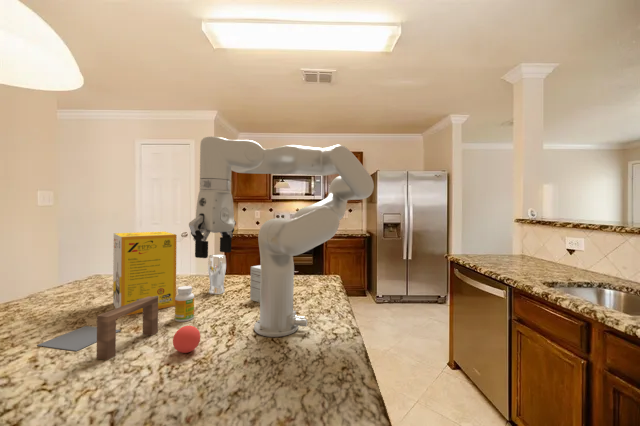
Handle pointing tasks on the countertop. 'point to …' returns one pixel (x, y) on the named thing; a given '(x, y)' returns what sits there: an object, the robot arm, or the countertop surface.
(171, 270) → the packaging box
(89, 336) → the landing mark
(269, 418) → the countertop surface
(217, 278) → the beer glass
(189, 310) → the supplement bottle
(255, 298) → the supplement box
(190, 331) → the ball
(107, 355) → the bridge
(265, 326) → the robot arm
